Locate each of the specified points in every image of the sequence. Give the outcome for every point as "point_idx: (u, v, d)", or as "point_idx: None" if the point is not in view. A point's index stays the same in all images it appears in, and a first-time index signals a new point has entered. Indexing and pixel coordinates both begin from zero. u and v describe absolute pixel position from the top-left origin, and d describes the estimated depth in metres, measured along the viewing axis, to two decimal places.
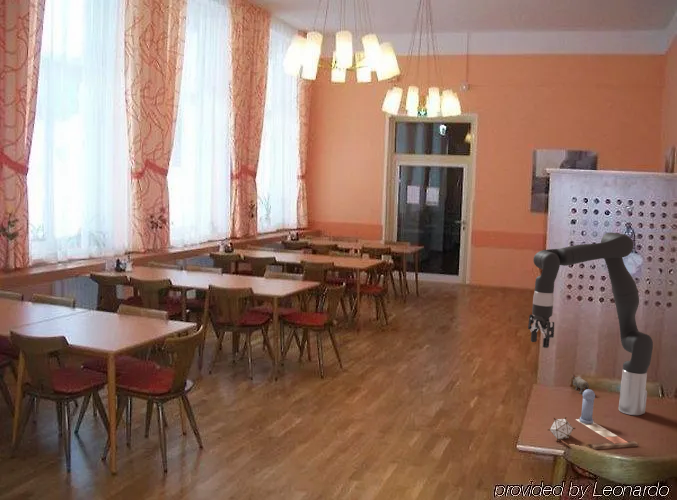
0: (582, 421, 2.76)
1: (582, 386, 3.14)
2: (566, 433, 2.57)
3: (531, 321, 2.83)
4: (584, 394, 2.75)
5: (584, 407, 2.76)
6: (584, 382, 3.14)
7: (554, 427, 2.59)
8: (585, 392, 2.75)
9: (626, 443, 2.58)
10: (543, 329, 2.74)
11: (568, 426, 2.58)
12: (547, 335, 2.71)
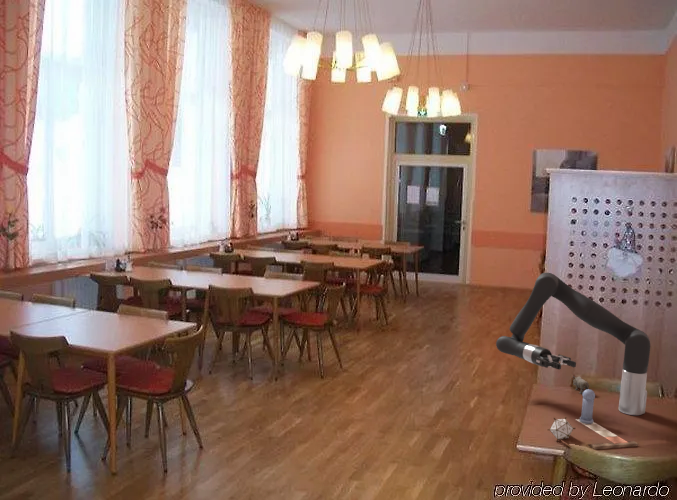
0: (582, 421, 2.76)
1: (582, 386, 3.14)
2: (566, 433, 2.57)
3: None
4: (584, 394, 2.75)
5: (584, 407, 2.76)
6: (584, 382, 3.14)
7: (554, 427, 2.59)
8: (585, 392, 2.75)
9: (626, 443, 2.58)
10: None
11: (568, 426, 2.58)
12: (545, 366, 2.86)
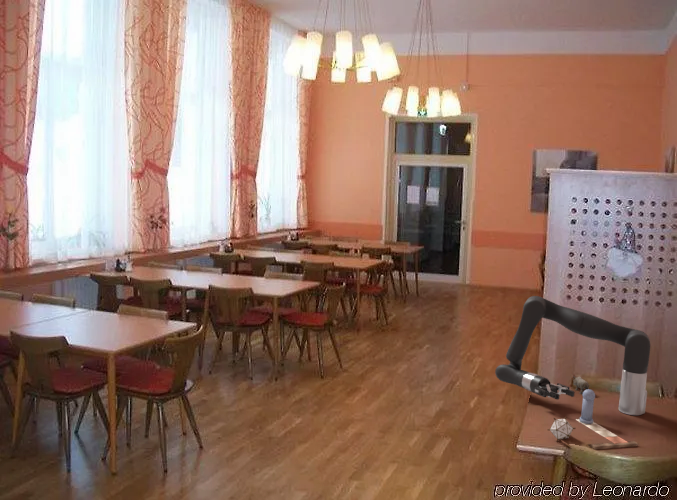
0: (582, 421, 2.76)
1: (582, 386, 3.14)
2: (566, 433, 2.57)
3: (561, 389, 2.95)
4: (584, 394, 2.75)
5: (584, 407, 2.76)
6: (584, 382, 3.14)
7: (554, 427, 2.59)
8: (585, 392, 2.75)
9: (626, 443, 2.58)
10: None
11: (568, 426, 2.58)
12: None
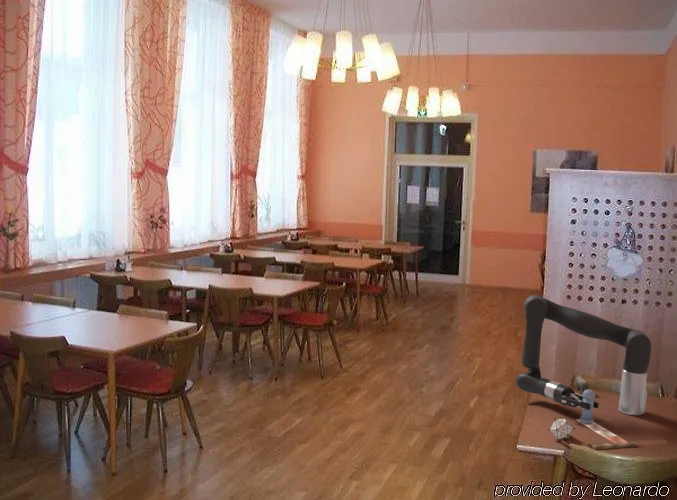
0: (582, 421, 2.76)
1: (582, 386, 3.14)
2: (566, 433, 2.57)
3: None
4: (584, 394, 2.75)
5: None
6: (584, 382, 3.14)
7: (554, 427, 2.59)
8: (585, 392, 2.75)
9: (626, 443, 2.58)
10: (574, 404, 2.79)
11: (568, 426, 2.58)
12: None
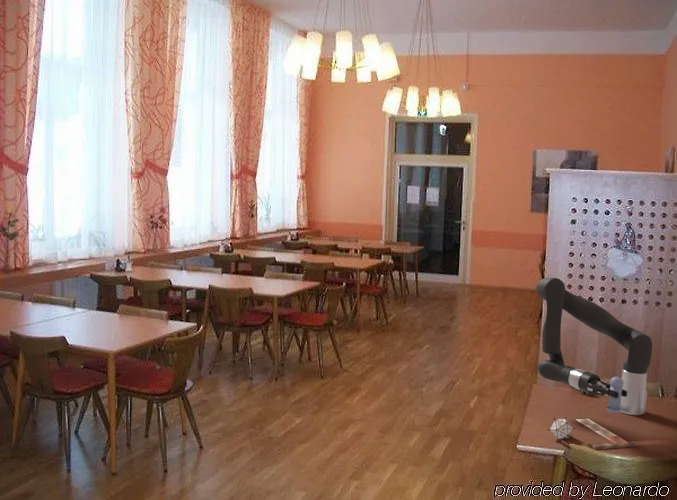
0: (609, 410, 2.60)
1: None
2: (566, 433, 2.57)
3: None
4: (611, 382, 2.59)
5: None
6: None
7: (554, 427, 2.59)
8: (613, 379, 2.59)
9: (626, 443, 2.58)
10: None
11: (568, 426, 2.58)
12: None
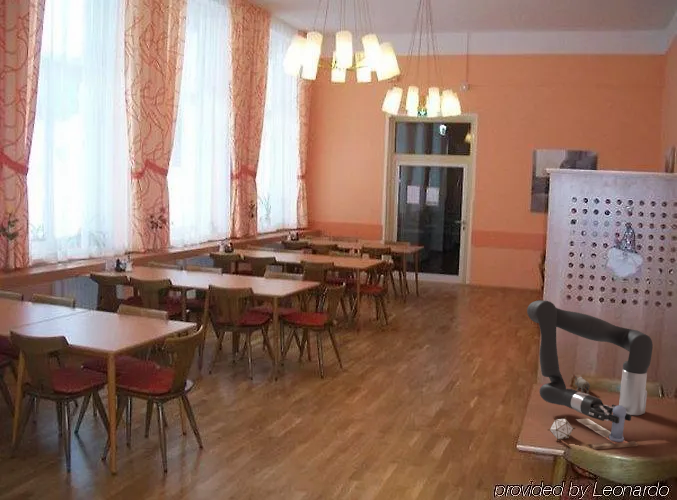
0: (612, 439, 2.59)
1: (583, 386, 3.14)
2: (566, 433, 2.57)
3: None
4: (614, 411, 2.58)
5: (614, 424, 2.59)
6: (585, 382, 3.14)
7: (554, 427, 2.59)
8: (616, 408, 2.58)
9: (626, 443, 2.58)
10: None
11: (568, 426, 2.58)
12: None
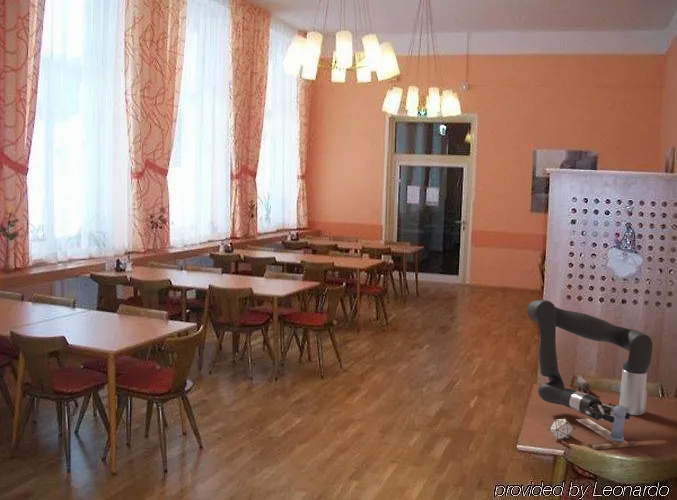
0: (612, 439, 2.59)
1: (583, 386, 3.14)
2: (566, 433, 2.57)
3: None
4: (614, 411, 2.58)
5: (614, 424, 2.59)
6: (585, 382, 3.14)
7: (554, 427, 2.59)
8: (616, 408, 2.58)
9: (626, 443, 2.58)
10: None
11: (568, 426, 2.58)
12: None
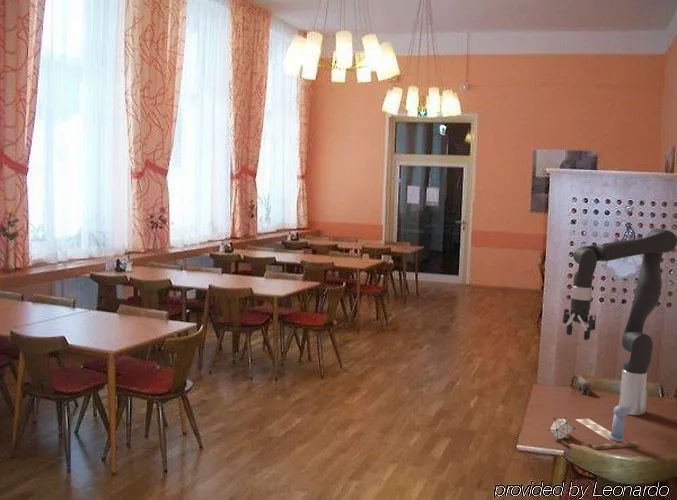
0: (611, 438, 2.59)
1: (583, 386, 3.14)
2: (566, 433, 2.57)
3: (566, 315, 2.94)
4: (615, 410, 2.58)
5: (614, 424, 2.59)
6: (585, 382, 3.14)
7: (554, 427, 2.59)
8: (616, 408, 2.58)
9: (626, 443, 2.58)
10: (584, 322, 2.86)
11: (568, 426, 2.58)
12: (590, 328, 2.83)
